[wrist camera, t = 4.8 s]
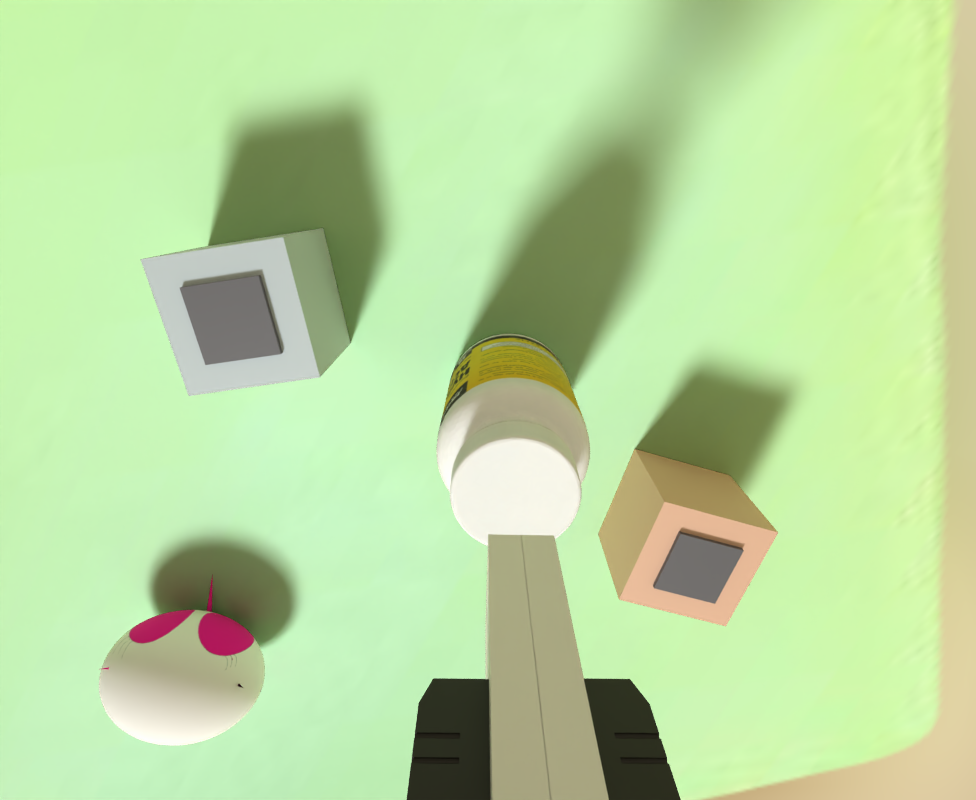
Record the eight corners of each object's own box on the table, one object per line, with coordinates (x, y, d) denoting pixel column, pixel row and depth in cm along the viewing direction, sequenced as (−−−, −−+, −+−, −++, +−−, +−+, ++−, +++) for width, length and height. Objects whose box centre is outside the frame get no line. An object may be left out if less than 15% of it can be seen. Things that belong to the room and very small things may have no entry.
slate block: (243, 358, 26) (186, 397, 21) (208, 245, 24) (137, 260, 19) (351, 342, 25) (318, 378, 20) (323, 228, 24) (281, 237, 19)
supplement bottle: (453, 324, 25) (434, 403, 16) (574, 337, 25) (624, 421, 16) (444, 435, 27) (421, 563, 18) (556, 446, 27) (592, 578, 18)
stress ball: (298, 579, 34) (276, 589, 27) (263, 725, 32) (230, 774, 25) (167, 557, 33) (112, 564, 26) (122, 707, 31) (51, 753, 24)
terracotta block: (597, 532, 29) (620, 602, 24) (634, 448, 27) (665, 504, 22) (688, 556, 29) (727, 629, 24) (729, 474, 28) (780, 535, 23)
